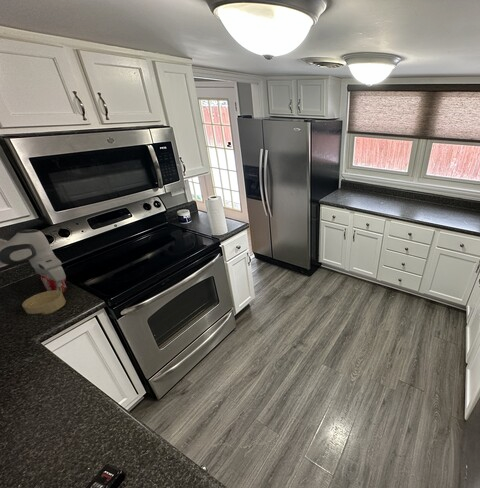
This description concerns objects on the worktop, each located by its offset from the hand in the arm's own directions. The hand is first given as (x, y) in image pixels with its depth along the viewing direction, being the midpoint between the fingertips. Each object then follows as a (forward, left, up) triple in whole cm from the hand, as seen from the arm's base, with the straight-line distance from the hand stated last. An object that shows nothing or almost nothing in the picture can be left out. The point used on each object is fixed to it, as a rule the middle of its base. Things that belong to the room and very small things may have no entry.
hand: (55, 283), depth 134 cm
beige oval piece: (-9, -11, -5) cm, 15 cm away
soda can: (0, 0, -5) cm, 5 cm away
